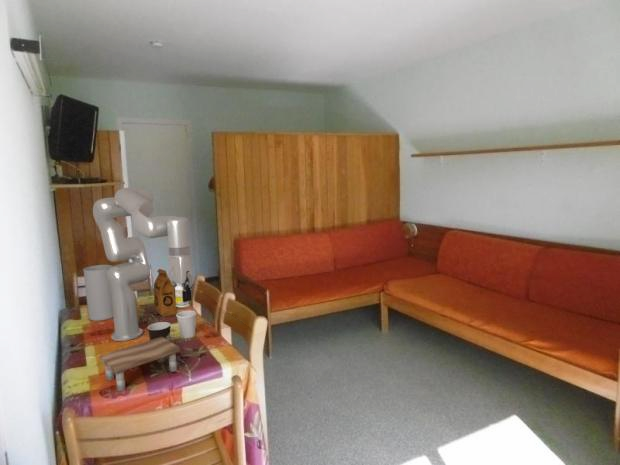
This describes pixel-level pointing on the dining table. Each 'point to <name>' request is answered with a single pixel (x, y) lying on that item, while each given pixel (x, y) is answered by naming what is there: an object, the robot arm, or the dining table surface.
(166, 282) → the coffee package
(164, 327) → the coffee mug
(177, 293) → the supplement bottle
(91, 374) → the dining table surface
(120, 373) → the small wooden riser
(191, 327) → the dixie cup
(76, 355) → the dining table surface
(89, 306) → the cylinder vase
